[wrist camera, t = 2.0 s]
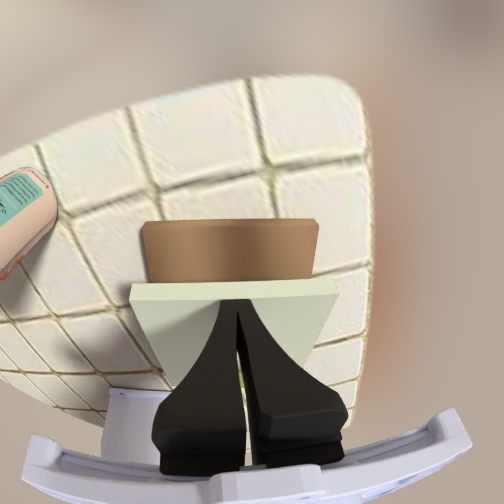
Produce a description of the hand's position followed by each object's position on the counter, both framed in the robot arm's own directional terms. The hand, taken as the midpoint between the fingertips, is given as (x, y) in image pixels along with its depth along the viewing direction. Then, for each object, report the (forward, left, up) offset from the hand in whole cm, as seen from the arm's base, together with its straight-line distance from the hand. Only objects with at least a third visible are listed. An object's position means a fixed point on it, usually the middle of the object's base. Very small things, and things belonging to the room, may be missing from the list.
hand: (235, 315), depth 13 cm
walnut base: (0, -5, -5) cm, 7 cm away
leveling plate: (0, -5, -3) cm, 6 cm away
